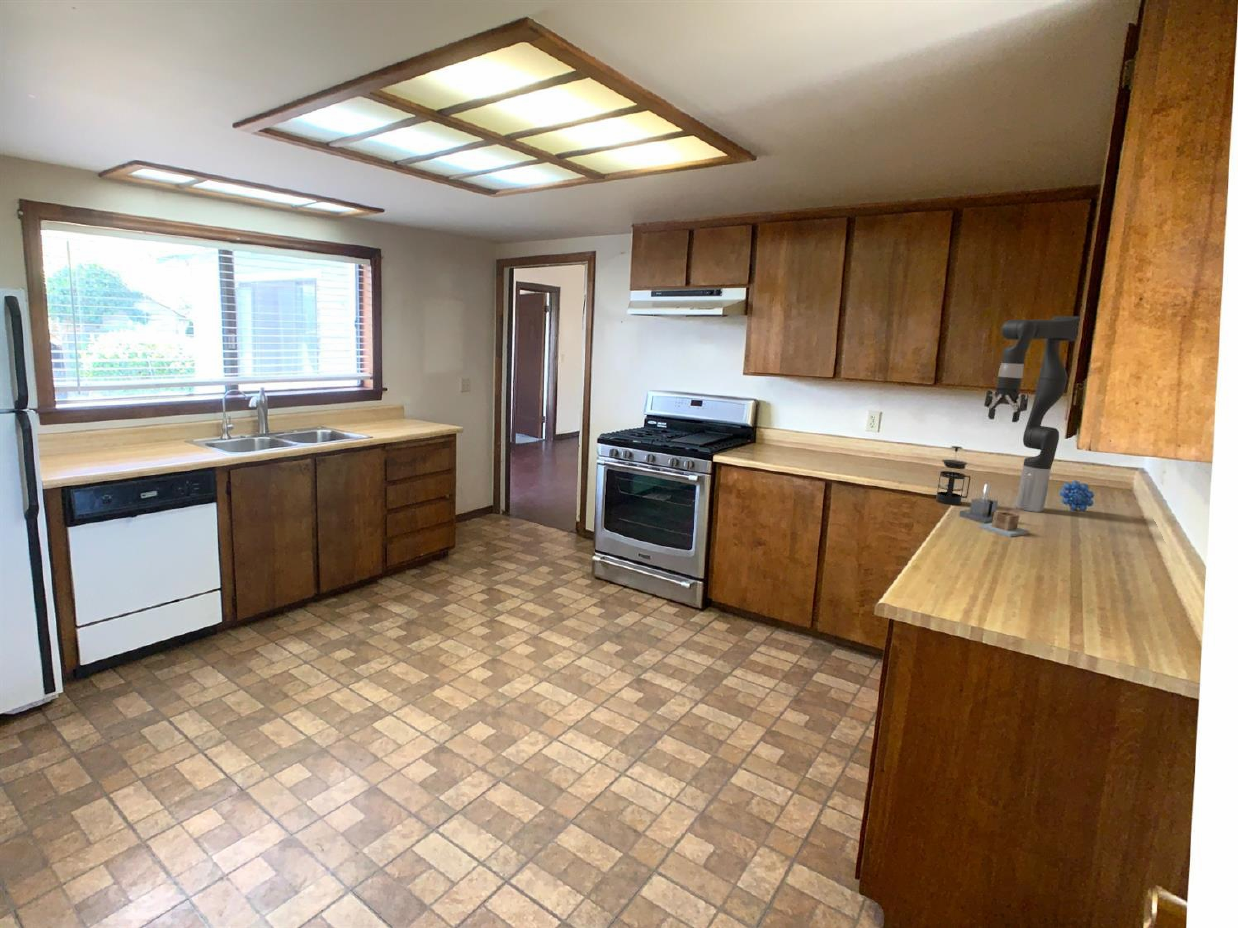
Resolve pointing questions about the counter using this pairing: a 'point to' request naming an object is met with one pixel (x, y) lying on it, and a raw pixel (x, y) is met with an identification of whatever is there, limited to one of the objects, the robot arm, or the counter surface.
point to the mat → (1004, 532)
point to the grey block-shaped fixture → (981, 508)
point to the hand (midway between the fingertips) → (1002, 420)
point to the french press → (952, 482)
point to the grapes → (1077, 495)
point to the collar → (1005, 520)
